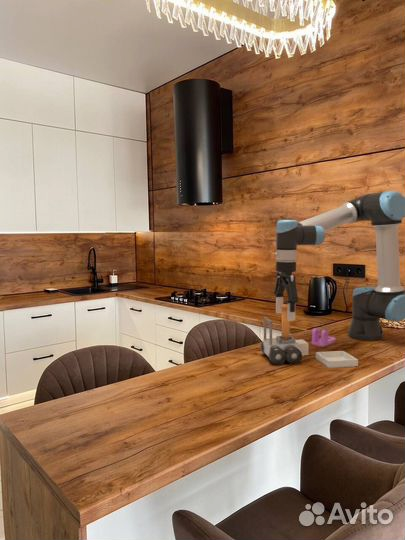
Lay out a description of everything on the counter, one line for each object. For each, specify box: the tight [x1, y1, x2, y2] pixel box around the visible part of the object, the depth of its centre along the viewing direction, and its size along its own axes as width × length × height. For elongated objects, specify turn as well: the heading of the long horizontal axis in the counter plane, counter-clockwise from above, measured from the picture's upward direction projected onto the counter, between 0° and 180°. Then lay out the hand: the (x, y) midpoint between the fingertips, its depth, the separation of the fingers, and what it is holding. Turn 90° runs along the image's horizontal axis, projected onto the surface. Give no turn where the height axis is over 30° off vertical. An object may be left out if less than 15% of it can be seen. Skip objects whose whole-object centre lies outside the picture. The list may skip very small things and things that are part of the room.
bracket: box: [311, 327, 336, 348], centre depth 182 cm, size 13×6×7 cm, turn 137°
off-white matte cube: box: [295, 338, 309, 357], centre depth 166 cm, size 6×6×5 cm
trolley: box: [260, 316, 303, 366], centre depth 158 cm, size 12×14×16 cm
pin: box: [280, 303, 291, 339], centre depth 158 cm, size 4×4×14 cm
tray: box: [315, 350, 359, 369], centre depth 154 cm, size 11×11×2 cm
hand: (285, 316), depth 158 cm, fingers open, 13 cm apart
